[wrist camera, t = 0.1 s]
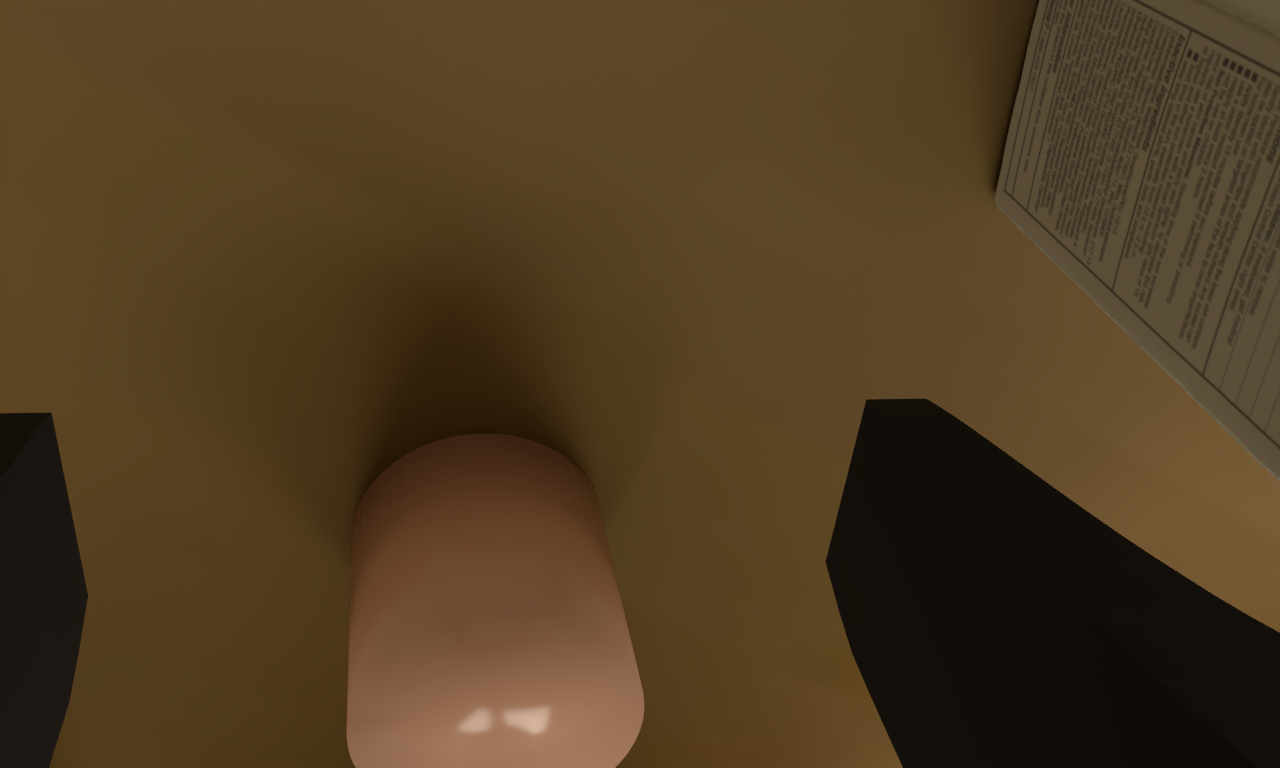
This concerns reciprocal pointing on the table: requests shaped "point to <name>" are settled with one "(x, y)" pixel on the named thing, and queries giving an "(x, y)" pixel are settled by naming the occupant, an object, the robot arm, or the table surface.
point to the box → (1163, 186)
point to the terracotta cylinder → (487, 615)
